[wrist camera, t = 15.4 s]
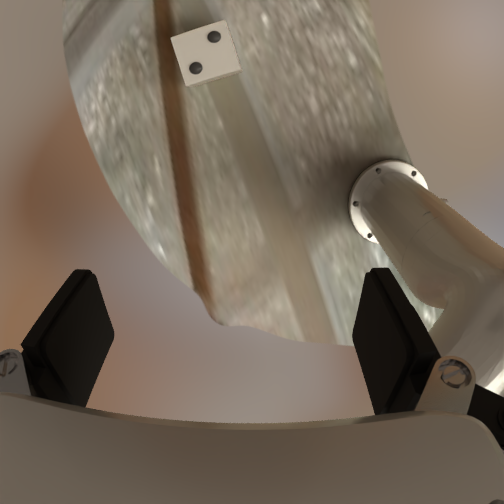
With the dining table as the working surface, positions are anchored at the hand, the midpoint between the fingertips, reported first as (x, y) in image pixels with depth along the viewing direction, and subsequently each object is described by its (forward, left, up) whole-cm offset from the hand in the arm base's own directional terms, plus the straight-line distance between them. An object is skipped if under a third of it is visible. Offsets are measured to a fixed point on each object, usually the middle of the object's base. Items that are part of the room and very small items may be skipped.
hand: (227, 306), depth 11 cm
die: (+4, -11, -32) cm, 34 cm away
